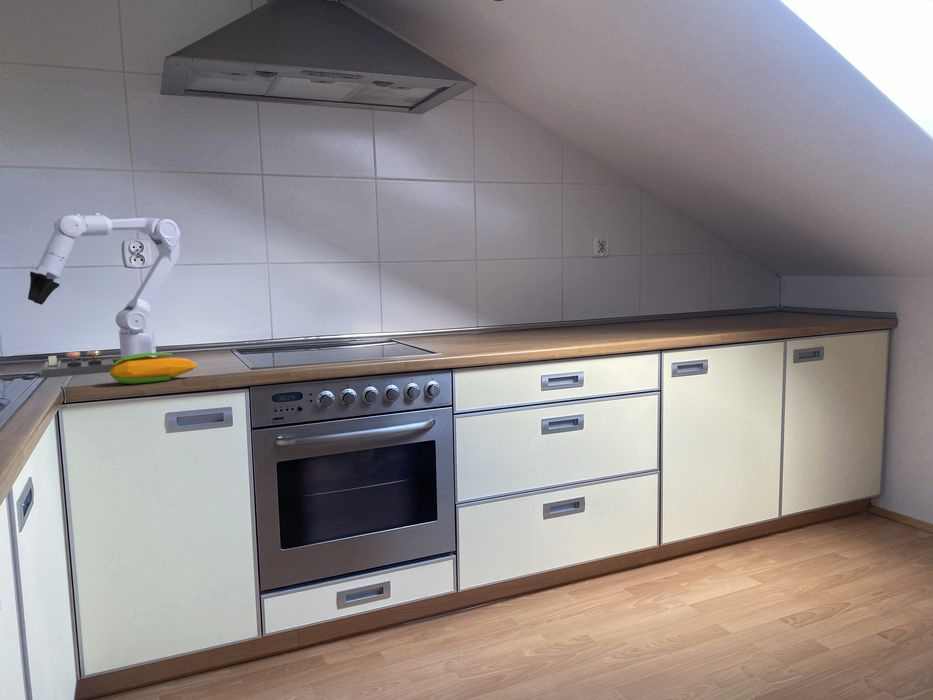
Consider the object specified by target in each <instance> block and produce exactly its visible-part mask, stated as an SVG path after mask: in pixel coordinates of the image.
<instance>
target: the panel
mask: <svg viewBox="0 0 933 700" xmlns="http://www.w3.org/2000/svg"><path fill="white" fill-rule="evenodd" d="M114 363H115V362H114V361H113V359H111V358H109V359H101V358H100V359H99V358H98V359H97V358H96V359H87V361H85V360H84V361H82V360H71V361H67V362H63V363H62V360H57V365H49V360H48V361H45V363H44V364H42V367H41V377H42V378H43V379H44V378H53V377H54V378H56V377H67V376H75V375H76V376H77V375H87V374H88V375H89V374H100V373H99V372H102V373H110V368H111V367H112V365H113V364H114Z"/></svg>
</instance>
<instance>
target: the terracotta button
mask: <svg viewBox="0 0 933 700" xmlns="http://www.w3.org/2000/svg"><path fill="white" fill-rule="evenodd" d="M65 354H66V358H68V359H71V361H77V360H76V359H77V358H80V357H81V352H80V351H70V352H69V351H68V352H66V353H65Z"/></svg>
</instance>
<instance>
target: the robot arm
mask: <svg viewBox="0 0 933 700" xmlns="http://www.w3.org/2000/svg"><path fill="white" fill-rule="evenodd" d="M53 228H54V231H53V232H52V236H50V238H49V240H48V243H47V244H46V247H45V249H44V251H43V254H42V256H41V258H40V259H39V263H38V264H37V265H32V266H31V268H32V269H34V270H36V271H37V272H34V271H30V273H29V277H30V285H29V291H28V295H27V300H29V301H32V302H33V303H34V304H38V305H41V306H42V305H43V304H44V303H45V302H46V301H47V300H48V298H49V296H50V295H51V294H52V293H53V292H54V291H55V290H56V289H57V288H59V287H60V283H57V282H56V280H57V279H60V278H61V277H62V271H63V270H64V267H65V265H66V263H67V260H68V258H69V256H70V254H71V251H72V250H73V247H74V244H75V241H76V239H77V237H79V236H81V237H93V236H94V237H96V236H97V237H98V236H100V237H101V236H107V235H108V234H109V233H110V232H112V231H139V232H140V233H143V235H148V237H149V238H150V240H151V241H152V242H153V243H154V244H155V246H156V249H157V251H158V253H159V254H158V256H157V258H156V259H155V261H154V262H153V264H152V266H151V267H150V269H149V271H148V273H147V274H146V276H145V278H144V279H143V280H142V281H143V282H142V283H141V285H140V286H139V288H138V289H137V291H136V293H135V295H134V297H133V298H132V299H131V300H130V301H129V302H127V304H126V306H125V307H124V308H123V309H121V310H120V311H118V312H117V314H116V316H115V323H116V325H117V327H119V328H120V329H119V330H118V335H119V347H120V348H119V349H120V357H121V358H124V357H126V356H130V355H135V354H143V353H157V348H156V338H155V337H156V336H155V333H154V332H153V331H147V329H146V327H147V325H148V318H149V315H150V314H151V305H152V304H153V302H154V301H155V299H156V297H157V296H158V293H159V292H160V290H161V289H162V286H163V285H164V284H165V282H166V280H167V278H168V276H169V275H170V273H171V271H172V270H173V269H174V266H175V265H176V263H177V261H178V259H179V258H180V255H181V254H180V238H181V231H180V229H179V227H178V225H177V223H176V222H175V221H174V220H172V219H169V218H165V219H161V218H156V217H132V218H131V217H130V218H117V219H110V218H109V217H107V216H106V215H105V214H104V215H103V214H101V213H100V212H95V213H93V215H81V214H80V213H76V214H69V215H66V216H61V217H59V218H58V219H57V220H56V221H55V222H54V224H53ZM149 357H157V355H153V356H149ZM121 358H120V359H121Z"/></svg>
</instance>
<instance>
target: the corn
mask: <svg viewBox="0 0 933 700" xmlns="http://www.w3.org/2000/svg"><path fill="white" fill-rule="evenodd" d="M153 355H156V357H149V356H153ZM160 355H161V356H160ZM163 355H164V356H165V355H173V353H172V352H156V353H143V354H135V355H130V356H126V357H124V358H119V359H118V360H117V361H116V362H113V363H114V364H113V365H112V367H111V368H110V372H109V373H110V374H109V375H110V376H111V377H112V379H114V381H116V382H119V383H121V384H124V385H125V384H126V385H141V384H151V383H161V382H162V383H163V382H166V381H169V380H171V379H172V378H175V377H179V376H181V375H183V374H186V373H189V372H191V371H193V370H195V368H197V365H198V364H197V363H196V362H194V361H192V360H190V359H188V358H183V357H168V356H167V357H166V356H165V357H164V356H163ZM170 377H172V378H170Z"/></svg>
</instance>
